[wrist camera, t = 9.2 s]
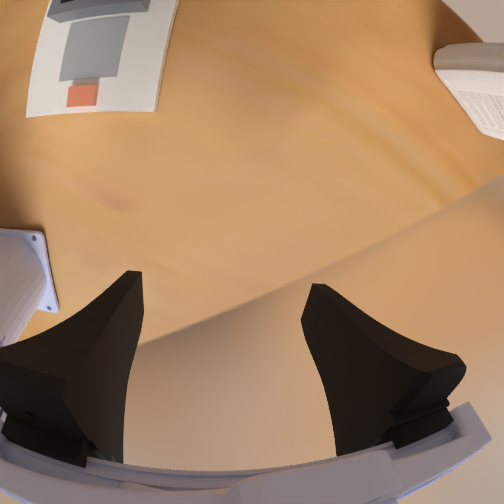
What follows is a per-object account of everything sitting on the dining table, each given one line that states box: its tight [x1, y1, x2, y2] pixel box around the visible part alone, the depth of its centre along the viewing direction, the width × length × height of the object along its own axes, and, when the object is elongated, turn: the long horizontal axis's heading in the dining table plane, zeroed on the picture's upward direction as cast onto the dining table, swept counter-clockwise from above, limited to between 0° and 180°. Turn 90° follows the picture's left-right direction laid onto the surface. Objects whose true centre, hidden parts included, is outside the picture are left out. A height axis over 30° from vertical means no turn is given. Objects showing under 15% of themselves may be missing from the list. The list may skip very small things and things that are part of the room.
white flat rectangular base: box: [26, 0, 179, 118], centre depth 10 cm, size 10×16×3 cm, turn 171°
